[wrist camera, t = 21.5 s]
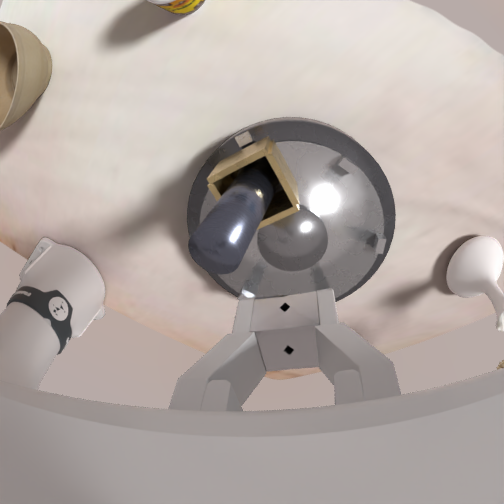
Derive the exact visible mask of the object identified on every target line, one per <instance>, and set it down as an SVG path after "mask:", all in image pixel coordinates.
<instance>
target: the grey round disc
mask: <svg viewBox="0 0 504 504" xmlns="http://www.w3.org/2000/svg"><path fill="white" fill-rule="evenodd" d="M263 156H266V158H267V159H268V161H269V163H270V165H271V167H272V168H273V170H274V172H275V174H276V176H277V177H278V179H279V181H280V184H279V186H278V188H277V190H276V192H275V194H274V196H273V198H272V200H271V202H270V204H269V206H268V208H267V210H266V212H265V214H264V216H263V218H262V220H261V222H260V224H259V226H258V228H257V230H256V232H255V234H254V236H253V238H252V240H251V242H250V244H249V246H248V249H247V251H246V253H245V255H244V257H243V259H242V261H241V263H240V265H239V267H238V268H237V269H236V270H235V271H234V272H232V273H229V274H218V275H219V277H220V278H221V279H222V280H223V281H224V282H225V283H226V284H227V285H228V286H230V287H231V288H232V289H234V290H235V291H236V292H238V293H239V295H238V300H240V299H246V298H256V297H267V296H278V295H290V294H298V293H306V292H314V291H317V290H324V289H330V288H332V289H333V291H334V297H335V298H337V297H339V296H340V295H342V294H344V293H346V292H347V291H348V290H350V289H351V288H352V287H354V286H355V285H356V284H357V283H358V282H359V281H360V280H361V279H362V278H363V277H364V276H365V275H366V274H367V272H368V271H369V270H370V268H371V267H372V265H373V264H374V262H375V260H376V258H377V256H378V254H383V252H384V247H385V243H386V237H385V236H384V234H383V233H384V217H383V210H382V206H381V203H380V199H379V197H378V195H377V193H376V190H375V188H374V187H373V185H372V184H371V182H370V180H369V179H368V178H367V176H366V175H365V174H364V172H363V171H362V170H361V169H360V168H359V167H358V166H357V165H356V164H355V163H354V162H353V161H351V160H350V159H349V158H348V157H346V156H345V155H343V154H342V153H340V152H338V151H337V150H334V149H332V148H330V147H328V146H325V145H322V144H319V143H315V142H311V141H304V140H280V141H274V140H272V141H271V140H270V138H269V136H267V137H265V138H263V139H261V140H259V141H257V142H255V143H254V144H252V145H250V146H248V147H246V148H244V149H242V150H240V151H238V152H236V153H234V154H233V155H231V156H229V157H227V158H225V159H223V160H222V161H220V162H219V163H218V164H217V165H216V167H215V168H214V169H213V171H212V172H211V174H210V175H209V176H208V178H207V180H208V182H209V184H208V188H209V190H208V192H207V194H206V196H205V198H204V202H203V205H202V208H201V214H200V223H199V224H198V226H197V228H198V227H199V225H200V224H201V223H202V221H203V220H204V219H205V217H206V216H207V215H208V213H209V212H210V211H211V209H212V208H213V207H214V205H215V204H216V203H217V201H218V200H219V199H220V197H221V196H222V195H223V194H224V192H225V191H226V190H227V188H228V187H229V186H230V185H231V183H232V182H233V181H234V179H235V178H236V177H237V176H238V174H239V173H240V172H241V171H242V169H243V168H244V167H245V166H246V165H248V164H250V163H252V162H253V161H255V160H257V159H259V158H261V157H263Z"/></svg>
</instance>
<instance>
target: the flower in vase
mask: <svg viewBox="0 0 504 504" xmlns="http://www.w3.org/2000/svg"><path fill="white" fill-rule="evenodd" d="M503 261H504V256H503V251H502V247H501V245H500V243H499V242H498V241H497V240H496V239H495V238H493V237H491V236H477V237H474V238H471V239H470V240H468V241H466V242H465V243H464V244H462V245H461V246H460V247H459V248H458V249H457V251H456V252H455V253H454V255H453V256H452V258H451V260H450V262H449V265H448V269H447V275H446V280H447V285H448V287H449V289H450V290H451V291H452V292H453V293H454V294H456V295H458V296H460V297H465V298H469V297H475V296H479V295H481V294H483V293H485V294H486V295H487V296H488V297H489V299H490V300H491V302H492V304H493V306H494V308H495V311H496V314H497V321H496V328H497V329H498V330H499V331H504V293H503V292H502V290H501V289H500V288H499V286H498V284H497V282H496V281H497V279H498V278H499V276H500V273H501V270H502V266H503ZM502 362H503V363H502ZM502 362H500V363H499V364H500V365H498V366H499V367H497V370H498V369H501V368H504V360H502Z"/></svg>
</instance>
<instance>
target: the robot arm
mask: <svg viewBox="0 0 504 504" xmlns="http://www.w3.org/2000/svg"><path fill="white" fill-rule="evenodd" d="M19 276H20V279H21V282H20V284H19V286H18V288H17V290H16V292H15V293H14V294H13V295H12V297H11V298H10V300H9V302H8V303H7V307H6V309H5V310H4V311H3V312H2V313H1V315H0V504H504V368H501V369H498V370H495V371H492V372H489V373H486V374H483V375H479V376H476V377H473V378H469V379H466V380H463V381H459V382H455V383H451V384H448V385H444V386H440V387H435V388H431V389H427V390H422V391H417V392H413V393H408V394H403V395H401V392H400V388H399V384H398V380H397V375H396V372H395V368H394V364H393V362H392V361H391V360H390V359H388V358H387V357H386V356H385V355H384V354H382V353H381V352H380V351H379V350H377V349H376V348H375V347H374V346H372V345H371V344H370V343H369V342H367V341H366V340H365V339H364V338H362V337H361V336H360V335H359V334H357V333H356V332H355V331H354V330H352V329H351V328H350V327H349V326H347V325H346V324H345V323H344V322H342V323H339V321H338V315H337V309H336V303H335V297H334V291H333V289H332V288H330V289H324V290H317V291H314V292H306V293H298V294H290V295H278V296H267V297H256V298H246V299H240V300H239V302H238V306H237V311H236V315H235V320H234V325H233V330H232V334H227V335H226V336H225V337H224V338H223V339H221V340H220V341H219V342H218V343H217V344H216V345H215V346H214V347H213V348H212V349H211V350H209V351H208V352H207V353H206V354H205V355H204V356H203V357H202V358H201V359H200V360H199V361H197V362H196V363H195V364H194V365H193V366H192V367H191V368H190V369H188V370H187V371H186V372H185V373H184V374H183V375H182V376H181V377H180V378H178V380H177V383H176V387H175V390H174V393H173V396H172V399H171V403H170V406H169V409H159V408H148V407H147V408H146V407H137V406H128V405H120V404H112V403H104V402H98V401H91V400H85V399H80V398H73V397H69V396H63V395H58V394H54V393H49V392H44V391H40V390H38V388H39V386H40V383H41V381H42V379H43V377H44V376H45V374H46V372H47V370H48V368H49V367H50V365H51V363H52V362H53V360H54V358H55V357H56V355H58V354H60V353H61V352H62V350H63V349H64V348H65V347H66V346H67V344H68V342H69V340H70V338H71V337H72V338H73V337H80V336H81V335H82V334H83V332H84V331H85V330H86V328H87V327H88V326H89V324H90V323H91V322H92V320H96V319H102V318H103V317H104V315H105V309H104V305H103V302H104V298H105V286H104V282H103V279H102V277H101V275H100V273H99V271H98V270H97V268H96V267H95V266H94V264H93V263H92V262H91V261H90V260H89V259H88V258H87V257H86V256H85V255H84V254H82V253H81V252H80V251H78V250H76V249H74V248H72V247H70V246H66V245H61V244H57V243H55V242H54V241H52V240H50V239H49V238H46V237H43V238H42V239H41V240H40V242H39V243H38V245H37V246H36V248H35V249H34V251H33V253H32V254H31V256H30V258H29V259H28V261H27V263H26V264H25V266H24V268H23V269H22V271H21V273H20V275H19ZM313 367H319V368H320V369H321V371H322V372H323V373H324V374H325V375H326V377H327V378H328V379H329V380H330V381H331V383H332V384H333V385H334V389H335V390H334V391H335V405H332V406H323V407H312V408H300V409H286V410H269V411H268V410H267V411H243V409H242V407H241V406H242V405H243V404H244V402H245V401H246V400H247V398H248V397H249V395H250V394H251V393H252V392H253V390H254V389H255V388H256V386H257V385H258V384H259V382H260V381H261V380H262V378H263V377H264V376H265V374H266V372H267V371H277V370H287V369H299V368H313Z"/></svg>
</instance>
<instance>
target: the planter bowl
mask: <svg viewBox="0 0 504 504" xmlns="http://www.w3.org/2000/svg"><path fill="white" fill-rule="evenodd" d="M51 72H52V60H51V55H50V53H49V51H48V49H47V48H46V47H45V46H44V45H43V44H42V43H41V42H40V40H39V39H38V38H37V37H36V36H35V35H34V34H33V33H32V32H31V31H29V30H28V29H26V28H24V27H22V26H19V25H16V24H11V23H5V22H1V21H0V131H1V130H3V129H5V128H7V127H8V126H10V125H11V124H13V123H14V122H16V121H17V120H18V119H19V118H21V117H22V116H23V115H24V114H25V113H26V112H27V111H28V110H29V109H30V107H31V106H32V105H33V104H34V102H35V101H36V100H37V98H38V97H39V96H41V95H42V93H43V92H44V91H45V89H46V87H47V85H48V83H49V80H50V77H51Z"/></svg>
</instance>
